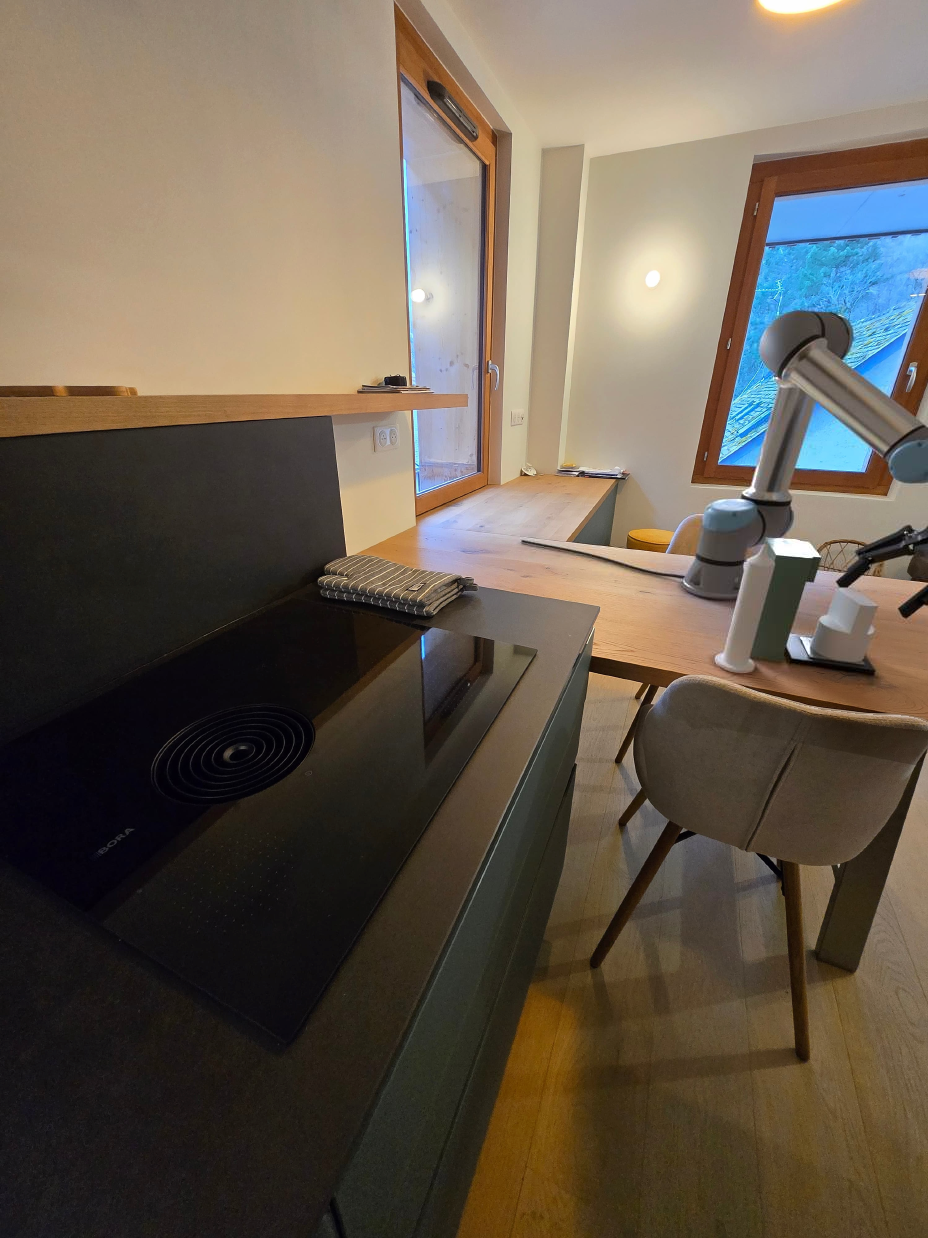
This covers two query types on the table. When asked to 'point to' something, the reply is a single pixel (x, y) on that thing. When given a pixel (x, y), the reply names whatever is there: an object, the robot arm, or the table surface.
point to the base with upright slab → (845, 627)
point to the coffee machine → (792, 610)
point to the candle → (747, 614)
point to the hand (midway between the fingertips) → (868, 599)
